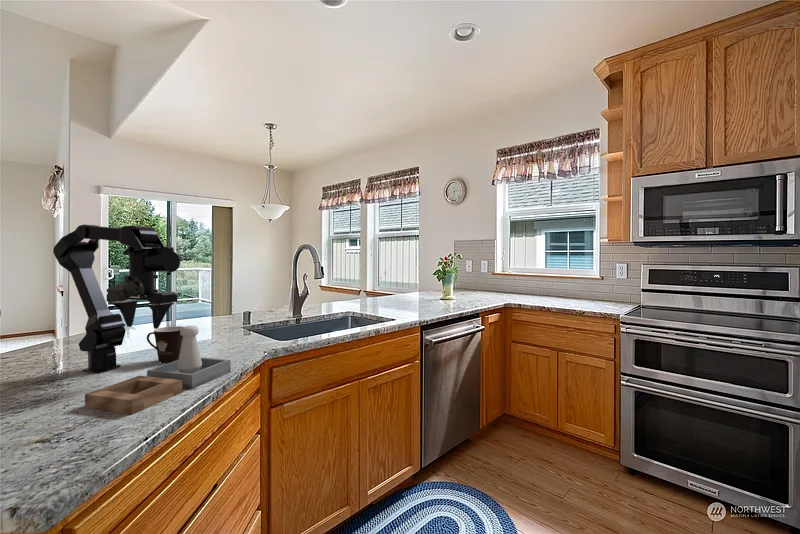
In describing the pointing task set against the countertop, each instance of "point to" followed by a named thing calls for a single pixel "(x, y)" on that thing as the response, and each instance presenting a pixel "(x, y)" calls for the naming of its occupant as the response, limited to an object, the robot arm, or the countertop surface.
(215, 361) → the tray
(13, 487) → the countertop surface
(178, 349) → the coffee mug
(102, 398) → the socket block
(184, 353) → the salt shaker
